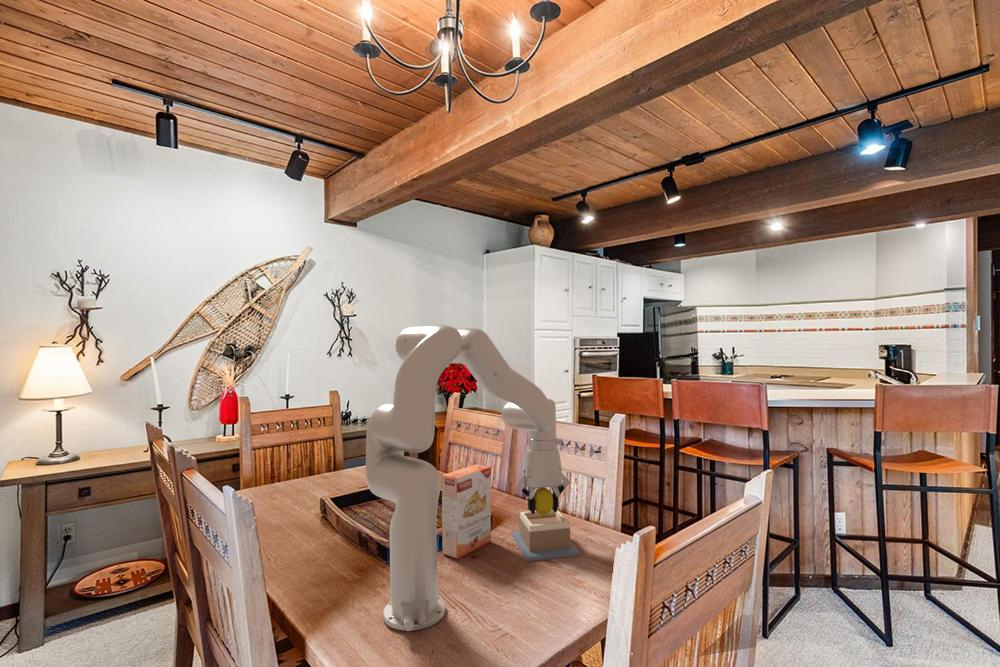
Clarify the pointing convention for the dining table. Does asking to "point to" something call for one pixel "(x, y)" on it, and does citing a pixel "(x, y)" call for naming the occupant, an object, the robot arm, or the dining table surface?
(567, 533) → the stand
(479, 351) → the robot arm
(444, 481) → the cracker box
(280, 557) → the dining table surface
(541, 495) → the lemon
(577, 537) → the dining table surface
